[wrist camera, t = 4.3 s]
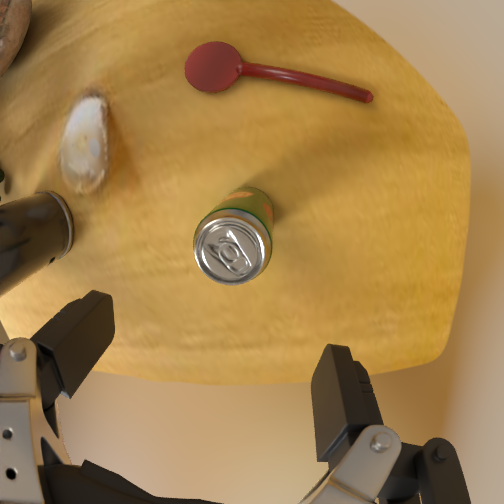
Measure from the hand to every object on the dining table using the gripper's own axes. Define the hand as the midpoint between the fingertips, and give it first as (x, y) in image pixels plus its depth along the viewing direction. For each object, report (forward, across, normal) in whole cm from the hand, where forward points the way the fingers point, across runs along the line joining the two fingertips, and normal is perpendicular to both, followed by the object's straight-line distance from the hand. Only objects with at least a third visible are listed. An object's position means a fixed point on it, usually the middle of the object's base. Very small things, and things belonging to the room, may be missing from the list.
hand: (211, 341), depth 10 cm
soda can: (+20, +1, 0) cm, 20 cm away
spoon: (+20, 0, -14) cm, 24 cm away
